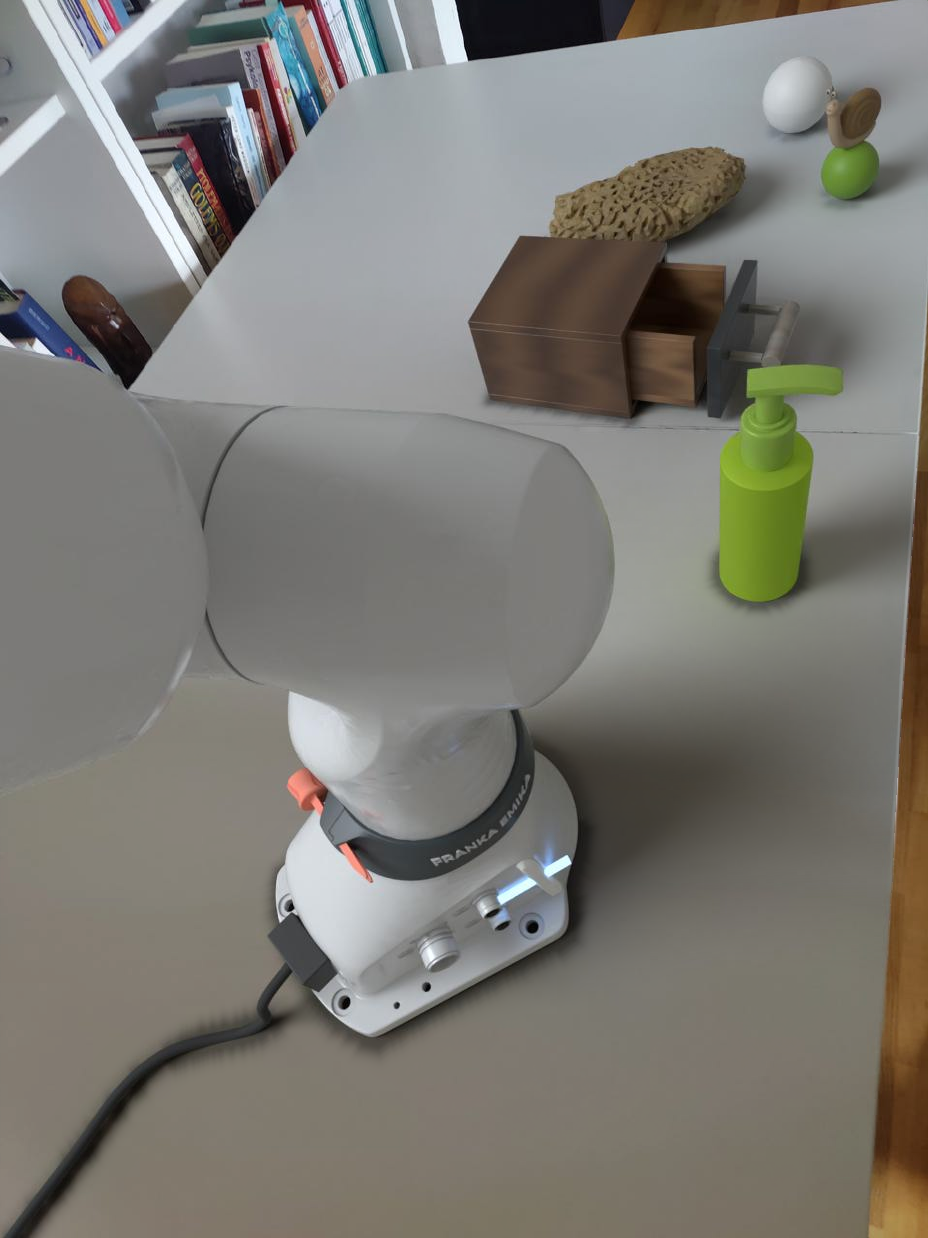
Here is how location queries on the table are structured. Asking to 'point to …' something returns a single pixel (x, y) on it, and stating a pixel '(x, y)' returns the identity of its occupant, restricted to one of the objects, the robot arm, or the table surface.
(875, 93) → the snail figurine
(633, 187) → the sponge
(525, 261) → the cabinet
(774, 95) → the white egg
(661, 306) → the drawer
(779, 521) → the soap dispenser
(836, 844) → the table surface
